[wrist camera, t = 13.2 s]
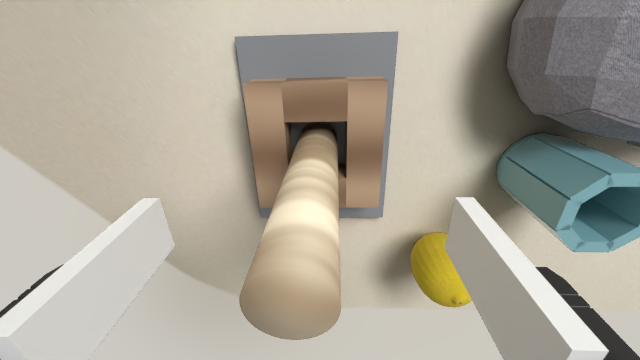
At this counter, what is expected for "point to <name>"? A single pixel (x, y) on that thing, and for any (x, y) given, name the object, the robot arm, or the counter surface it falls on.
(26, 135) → the counter surface
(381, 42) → the tray
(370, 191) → the frame
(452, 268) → the lemon
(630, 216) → the cup
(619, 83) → the grey rounded bag
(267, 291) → the dowel
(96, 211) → the counter surface
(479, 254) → the robot arm
